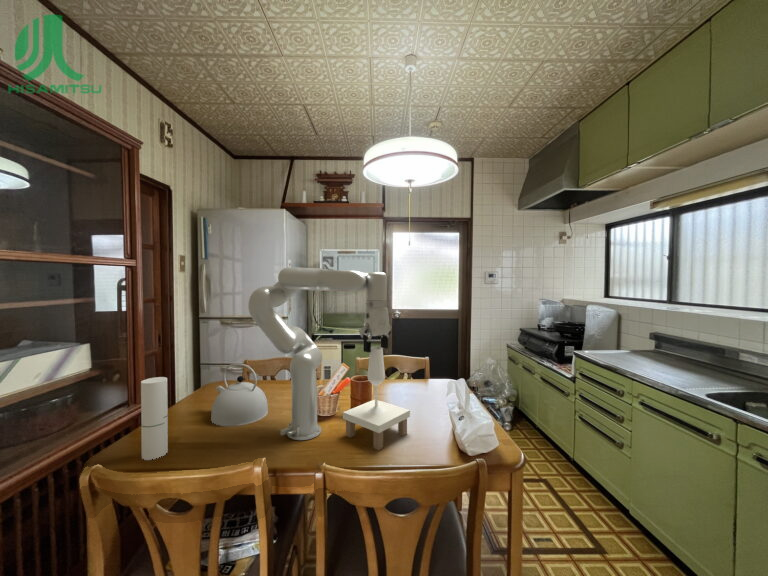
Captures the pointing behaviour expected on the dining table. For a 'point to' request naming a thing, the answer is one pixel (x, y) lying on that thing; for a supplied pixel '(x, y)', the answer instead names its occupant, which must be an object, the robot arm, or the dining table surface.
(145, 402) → the cylindrical container
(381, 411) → the champagne flute
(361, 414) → the footstool
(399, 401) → the dining table surface
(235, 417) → the kettle
